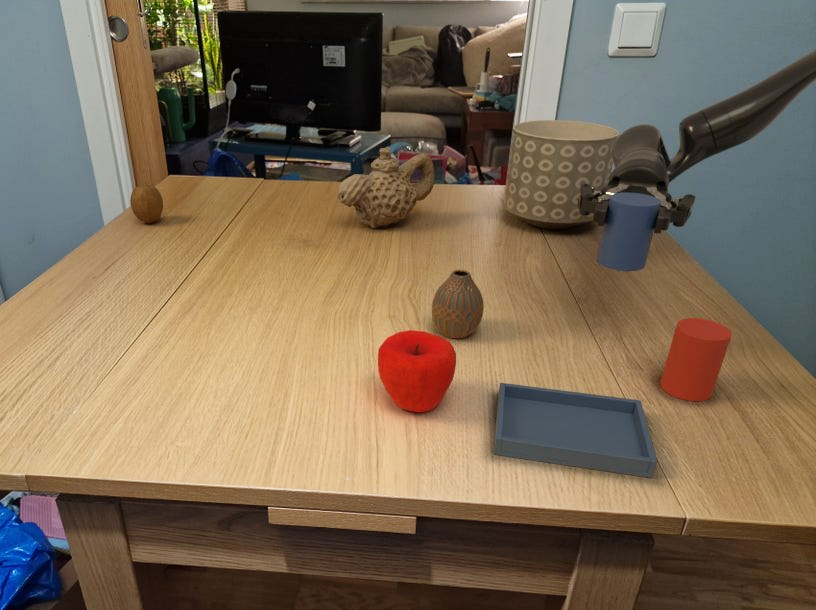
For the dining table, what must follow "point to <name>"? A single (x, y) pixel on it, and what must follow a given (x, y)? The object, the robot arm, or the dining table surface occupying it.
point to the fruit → (146, 203)
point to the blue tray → (574, 430)
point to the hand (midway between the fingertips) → (629, 221)
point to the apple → (416, 369)
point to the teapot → (387, 189)
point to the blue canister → (628, 231)
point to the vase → (457, 306)
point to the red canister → (695, 359)
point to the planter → (556, 170)
